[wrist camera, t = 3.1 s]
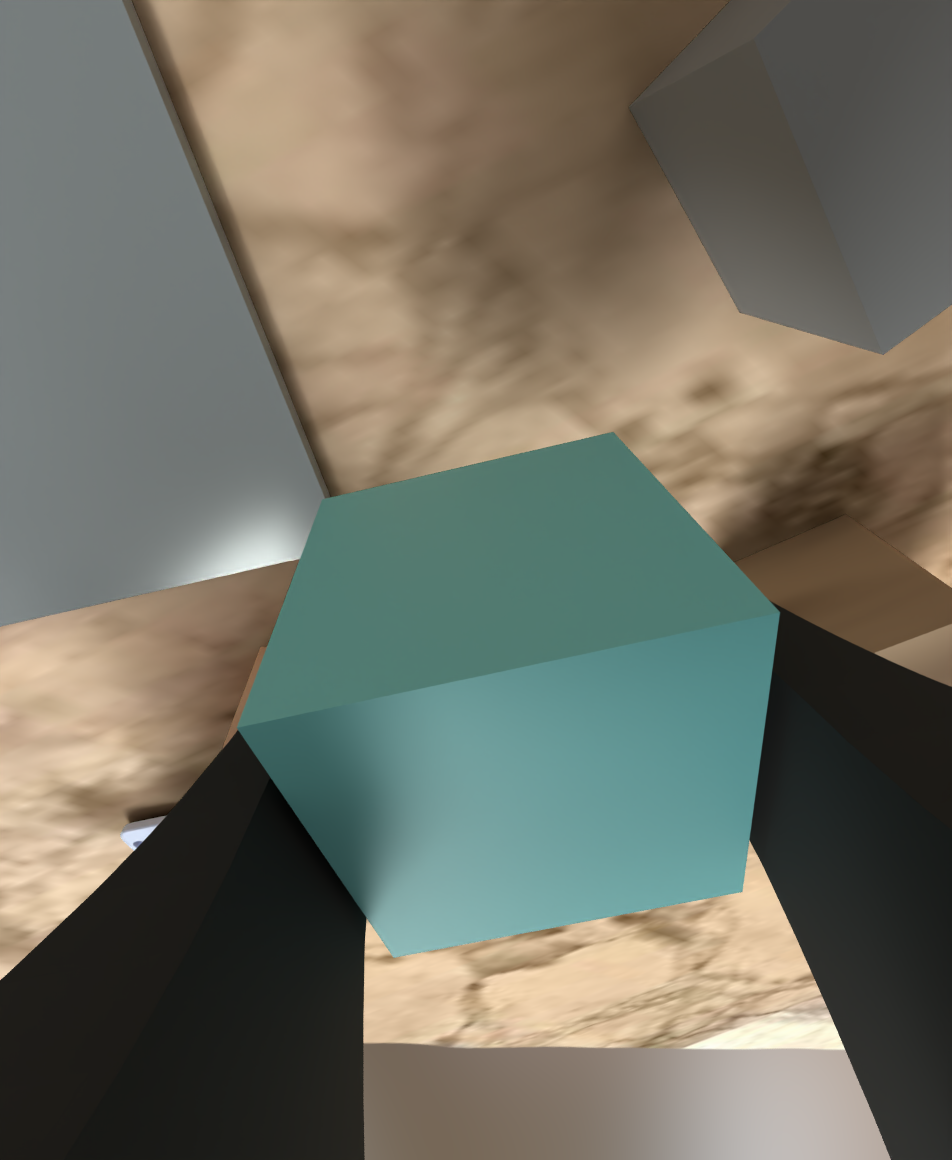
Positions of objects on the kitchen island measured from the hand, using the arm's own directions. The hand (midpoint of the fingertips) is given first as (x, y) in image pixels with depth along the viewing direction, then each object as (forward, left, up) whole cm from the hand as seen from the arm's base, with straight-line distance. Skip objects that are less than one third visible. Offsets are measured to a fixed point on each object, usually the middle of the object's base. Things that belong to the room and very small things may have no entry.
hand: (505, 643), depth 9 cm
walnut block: (-7, -9, -7) cm, 13 cm away
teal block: (0, 0, -2) cm, 2 cm away
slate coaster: (+5, +10, -7) cm, 13 cm away
